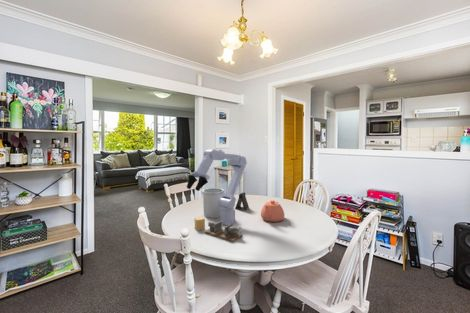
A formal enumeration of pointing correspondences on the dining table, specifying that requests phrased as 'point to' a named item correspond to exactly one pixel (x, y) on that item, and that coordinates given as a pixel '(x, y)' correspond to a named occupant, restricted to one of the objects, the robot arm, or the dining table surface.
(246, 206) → the black a-shaped stand
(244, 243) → the dining table surface
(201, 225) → the coupler block
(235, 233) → the shaft stand
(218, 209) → the utensil holder
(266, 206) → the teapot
